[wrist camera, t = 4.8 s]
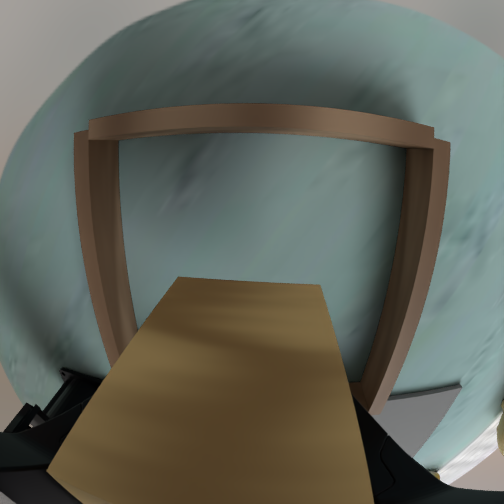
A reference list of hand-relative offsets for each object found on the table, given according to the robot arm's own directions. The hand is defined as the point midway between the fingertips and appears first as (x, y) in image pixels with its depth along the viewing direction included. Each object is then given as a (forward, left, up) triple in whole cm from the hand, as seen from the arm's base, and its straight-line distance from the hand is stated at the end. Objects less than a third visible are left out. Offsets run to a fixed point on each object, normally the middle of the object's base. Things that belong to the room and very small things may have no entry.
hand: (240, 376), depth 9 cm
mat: (+13, -17, -8) cm, 23 cm away
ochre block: (0, 0, -2) cm, 2 cm away
